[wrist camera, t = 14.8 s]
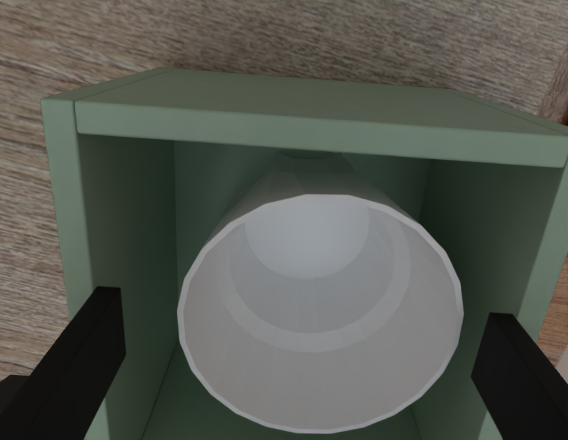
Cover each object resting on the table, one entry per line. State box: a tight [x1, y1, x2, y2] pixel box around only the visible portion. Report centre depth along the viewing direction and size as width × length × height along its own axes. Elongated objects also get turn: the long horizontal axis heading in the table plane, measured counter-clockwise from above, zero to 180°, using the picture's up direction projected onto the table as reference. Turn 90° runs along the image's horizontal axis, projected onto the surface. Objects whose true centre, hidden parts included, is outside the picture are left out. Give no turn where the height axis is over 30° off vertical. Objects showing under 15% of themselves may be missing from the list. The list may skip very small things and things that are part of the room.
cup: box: [177, 152, 464, 434], centre depth 20 cm, size 10×10×10 cm
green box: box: [40, 67, 568, 440], centre depth 21 cm, size 17×15×12 cm
